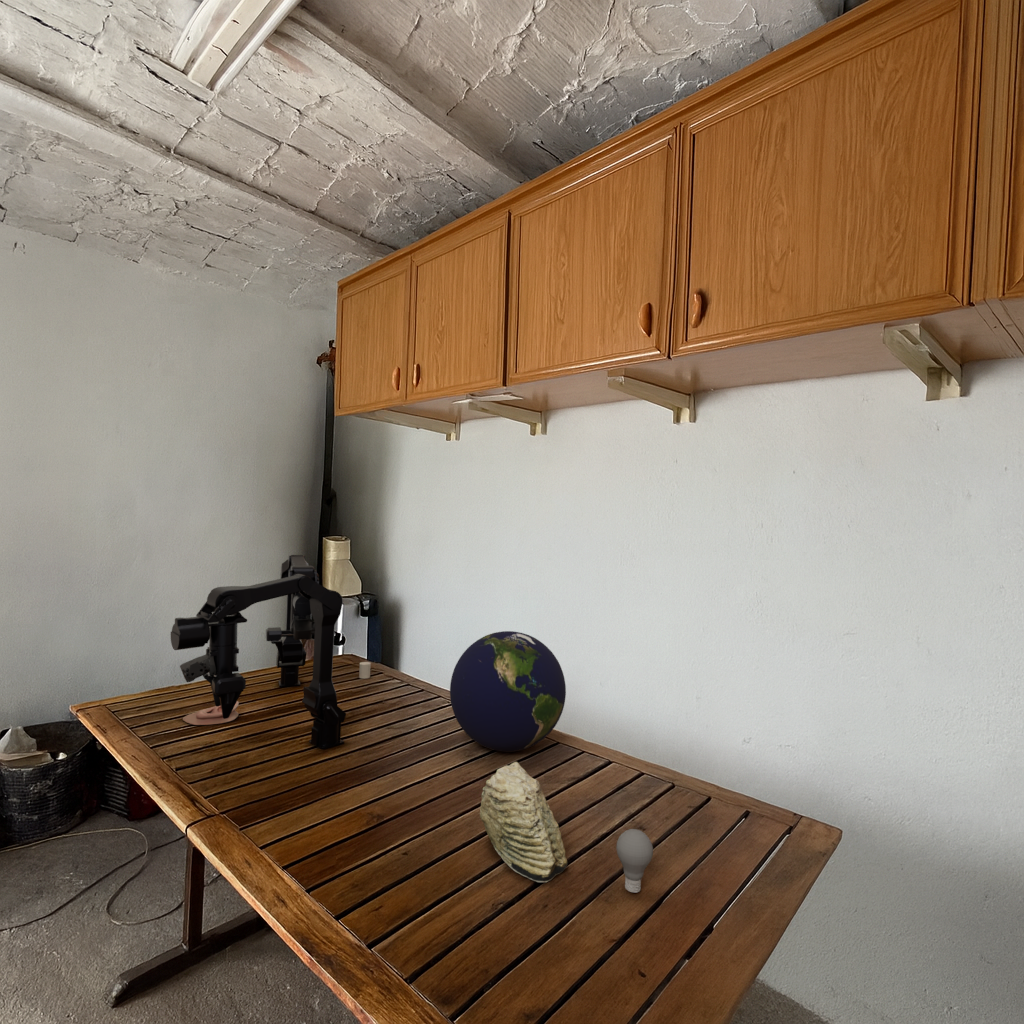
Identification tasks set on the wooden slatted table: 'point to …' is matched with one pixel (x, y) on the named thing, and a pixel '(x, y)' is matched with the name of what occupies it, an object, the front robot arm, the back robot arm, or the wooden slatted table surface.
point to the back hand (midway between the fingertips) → (299, 662)
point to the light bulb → (634, 857)
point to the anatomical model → (210, 716)
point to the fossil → (522, 824)
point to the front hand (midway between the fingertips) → (221, 711)
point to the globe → (507, 691)
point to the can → (364, 670)
